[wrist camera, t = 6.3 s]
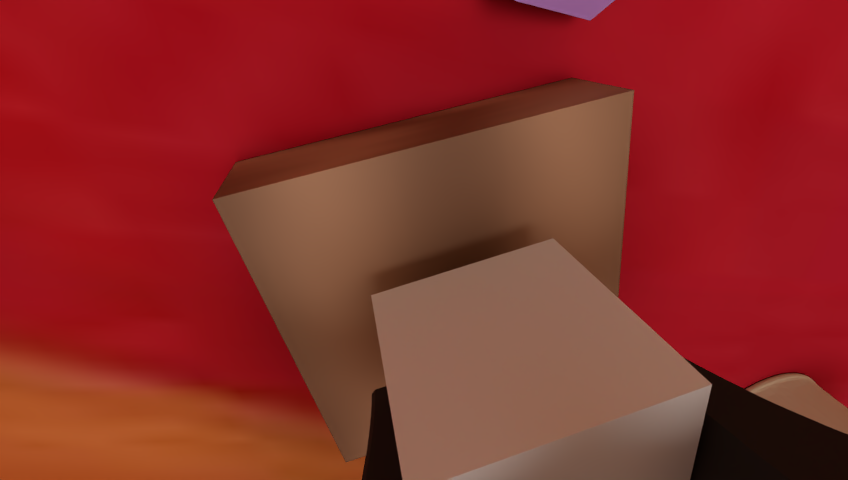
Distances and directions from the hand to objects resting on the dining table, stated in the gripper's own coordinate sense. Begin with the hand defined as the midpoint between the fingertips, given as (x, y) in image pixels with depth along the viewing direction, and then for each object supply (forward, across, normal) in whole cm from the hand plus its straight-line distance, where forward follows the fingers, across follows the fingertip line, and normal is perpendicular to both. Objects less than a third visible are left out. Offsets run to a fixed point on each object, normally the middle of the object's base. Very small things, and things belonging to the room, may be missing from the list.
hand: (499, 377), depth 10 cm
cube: (+2, 0, 0) cm, 2 cm away
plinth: (+6, 0, 0) cm, 6 cm away
